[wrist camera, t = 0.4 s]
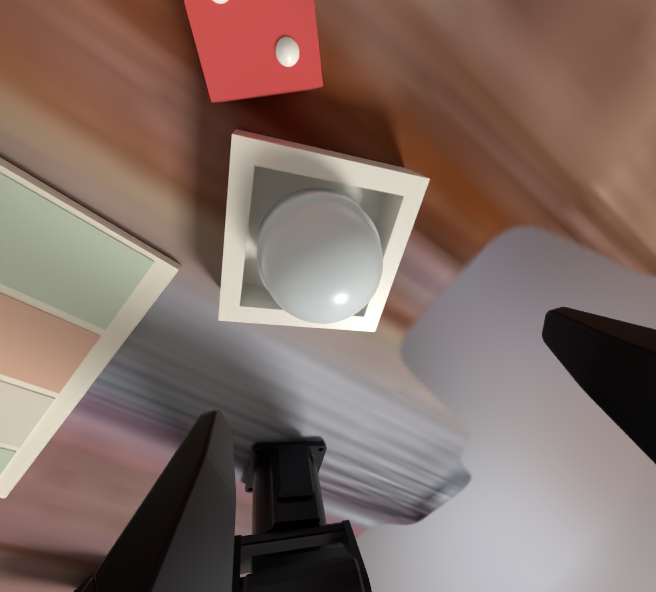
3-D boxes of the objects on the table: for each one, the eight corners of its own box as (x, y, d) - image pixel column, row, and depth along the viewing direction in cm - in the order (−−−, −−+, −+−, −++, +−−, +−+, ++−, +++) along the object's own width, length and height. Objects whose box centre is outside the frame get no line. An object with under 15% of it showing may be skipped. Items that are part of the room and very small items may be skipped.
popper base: (361, 305, 22) (375, 331, 19) (223, 292, 19) (218, 320, 17) (405, 167, 18) (429, 178, 15) (236, 128, 15) (231, 133, 13)
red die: (308, 90, 15) (323, 86, 11) (222, 102, 15) (211, 102, 11) (292, -28, 13) (305, -76, 9) (191, -18, 12) (166, -64, 9)
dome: (351, 294, 20) (381, 355, 15) (250, 284, 18) (249, 349, 13) (380, 196, 17) (429, 232, 12) (264, 173, 15) (267, 205, 10)
